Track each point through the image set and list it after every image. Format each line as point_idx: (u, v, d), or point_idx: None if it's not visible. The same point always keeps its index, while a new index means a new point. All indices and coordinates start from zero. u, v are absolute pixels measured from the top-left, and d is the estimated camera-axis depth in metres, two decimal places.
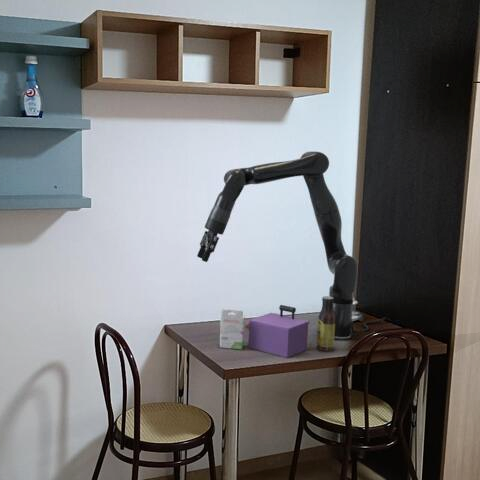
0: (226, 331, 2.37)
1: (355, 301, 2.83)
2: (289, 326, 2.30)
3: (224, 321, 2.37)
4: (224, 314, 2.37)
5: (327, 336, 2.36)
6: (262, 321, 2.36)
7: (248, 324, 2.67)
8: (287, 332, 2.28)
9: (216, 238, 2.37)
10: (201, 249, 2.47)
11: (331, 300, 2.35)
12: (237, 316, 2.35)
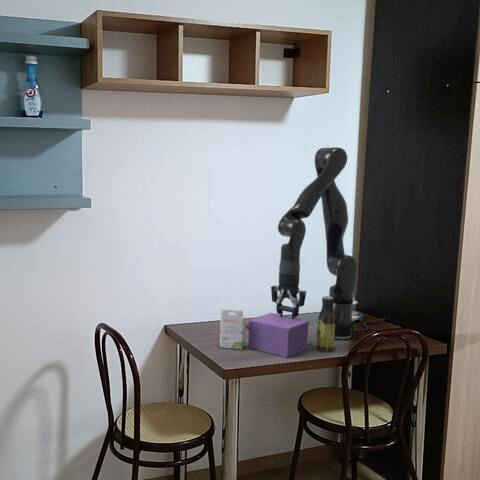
0: (226, 331, 2.37)
1: (355, 301, 2.83)
2: (289, 326, 2.30)
3: (224, 321, 2.37)
4: (224, 314, 2.37)
5: (327, 336, 2.36)
6: (262, 321, 2.36)
7: (248, 324, 2.67)
8: (287, 332, 2.28)
9: (304, 293, 2.37)
10: (279, 305, 2.43)
11: (331, 300, 2.35)
12: (237, 316, 2.35)
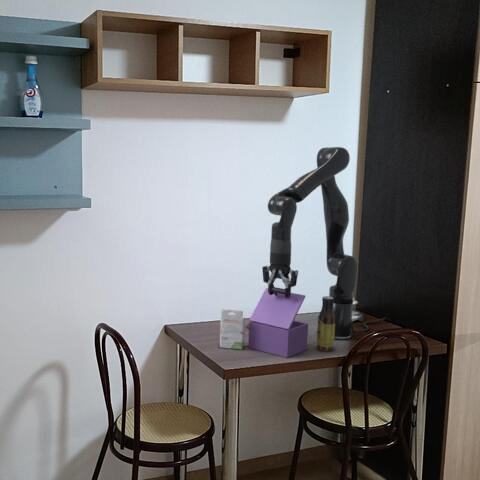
0: (226, 331, 2.37)
1: (355, 301, 2.83)
2: (287, 323, 2.29)
3: (224, 321, 2.37)
4: (224, 314, 2.37)
5: (327, 336, 2.36)
6: (261, 319, 2.35)
7: (248, 324, 2.67)
8: (287, 332, 2.28)
9: (296, 272, 2.30)
10: (271, 286, 2.37)
11: (331, 300, 2.35)
12: (237, 316, 2.35)
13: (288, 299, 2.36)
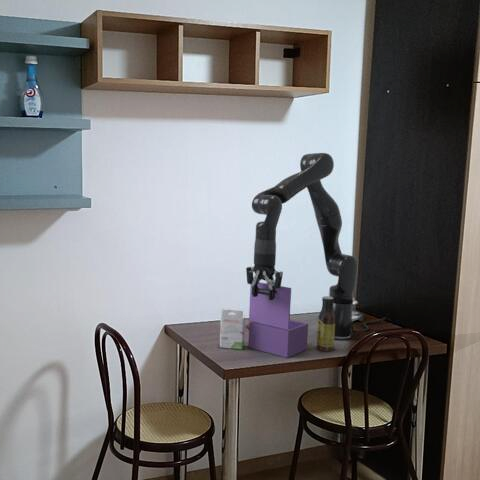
0: (226, 331, 2.37)
1: (355, 301, 2.83)
2: (285, 323, 2.28)
3: (224, 321, 2.37)
4: (224, 314, 2.37)
5: (327, 336, 2.36)
6: (260, 319, 2.35)
7: None
8: (287, 332, 2.28)
9: (281, 274, 2.22)
10: (255, 288, 2.29)
11: (331, 300, 2.35)
12: (237, 316, 2.35)
13: (276, 294, 2.29)
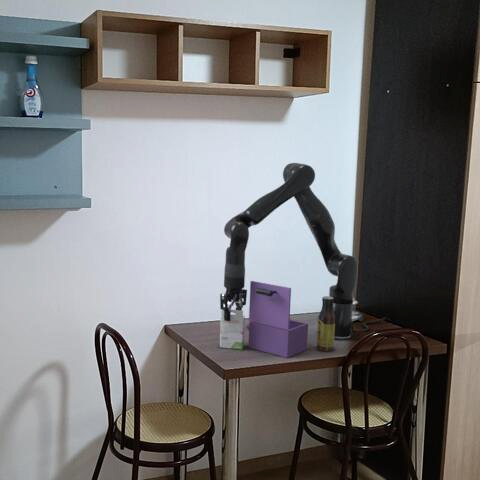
0: (226, 331, 2.37)
1: (355, 301, 2.83)
2: (285, 323, 2.28)
3: (224, 321, 2.37)
4: None
5: (327, 336, 2.36)
6: (259, 319, 2.35)
7: None
8: (287, 332, 2.28)
9: (223, 296, 2.32)
10: (236, 308, 2.41)
11: (331, 300, 2.35)
12: (237, 316, 2.35)
13: (276, 294, 2.29)
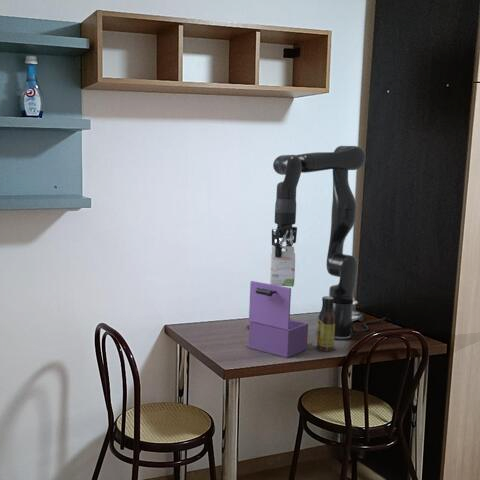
0: (277, 268, 2.34)
1: (355, 301, 2.83)
2: (285, 323, 2.28)
3: (274, 258, 2.34)
4: (274, 251, 2.34)
5: (327, 336, 2.36)
6: (259, 319, 2.35)
7: None
8: (287, 332, 2.28)
9: (275, 231, 2.29)
10: None
11: (331, 300, 2.35)
12: (288, 252, 2.32)
13: (276, 294, 2.29)
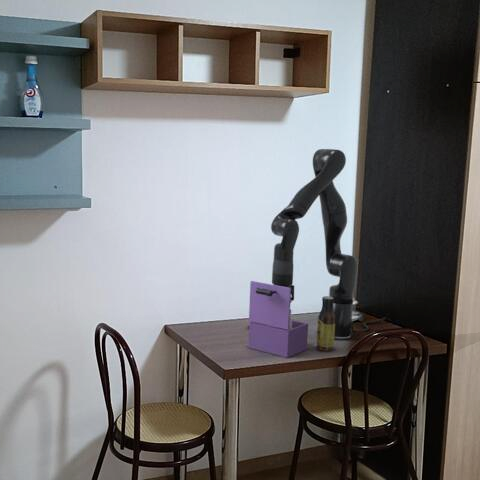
0: None
1: (355, 301, 2.83)
2: (285, 323, 2.28)
3: None
4: None
5: (327, 336, 2.36)
6: (259, 319, 2.35)
7: None
8: (287, 332, 2.28)
9: None
10: None
11: (331, 300, 2.35)
12: None
13: (276, 294, 2.29)
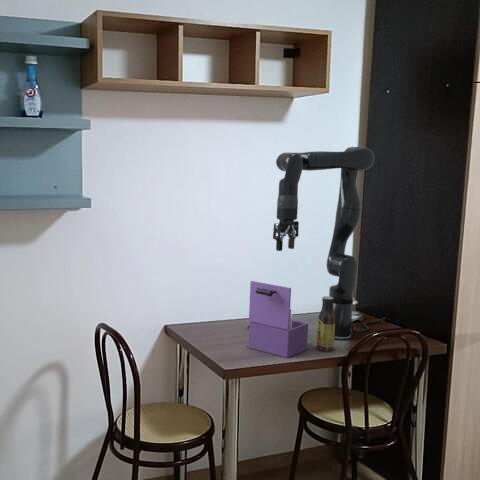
0: None
1: (355, 301, 2.83)
2: (285, 323, 2.28)
3: None
4: None
5: (327, 336, 2.36)
6: (259, 319, 2.35)
7: None
8: (287, 332, 2.28)
9: (277, 225, 2.35)
10: (289, 240, 2.44)
11: (331, 300, 2.35)
12: None
13: (276, 294, 2.29)
